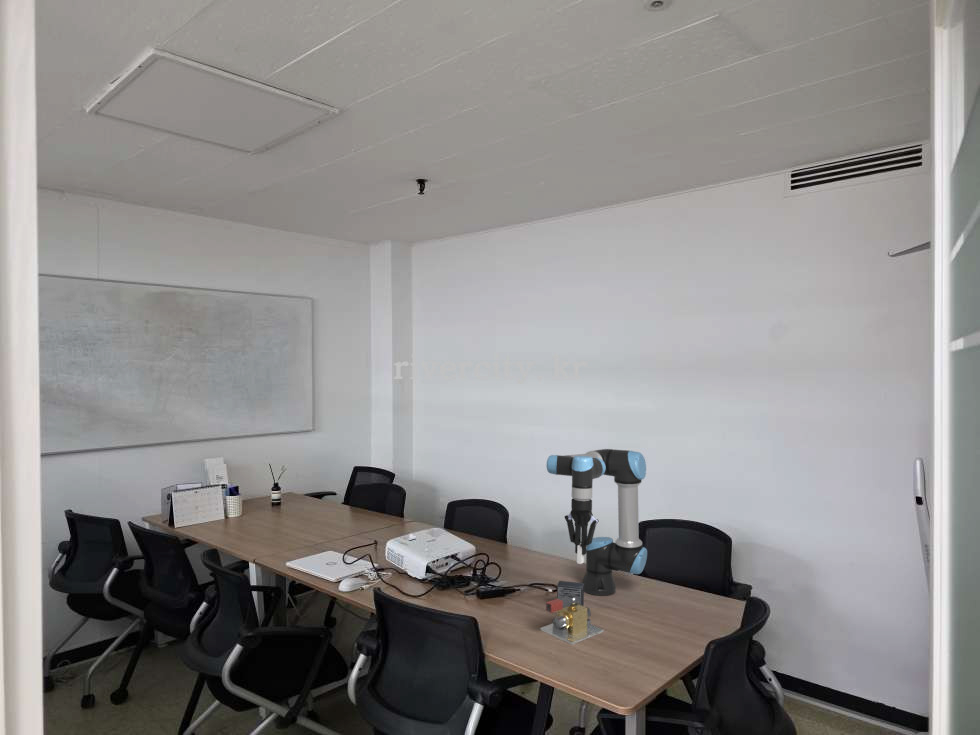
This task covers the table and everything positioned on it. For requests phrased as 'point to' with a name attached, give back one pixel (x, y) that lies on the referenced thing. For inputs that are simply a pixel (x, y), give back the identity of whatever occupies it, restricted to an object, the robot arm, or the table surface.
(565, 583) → the small box
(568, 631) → the valve body
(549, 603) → the lever
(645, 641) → the table surface
